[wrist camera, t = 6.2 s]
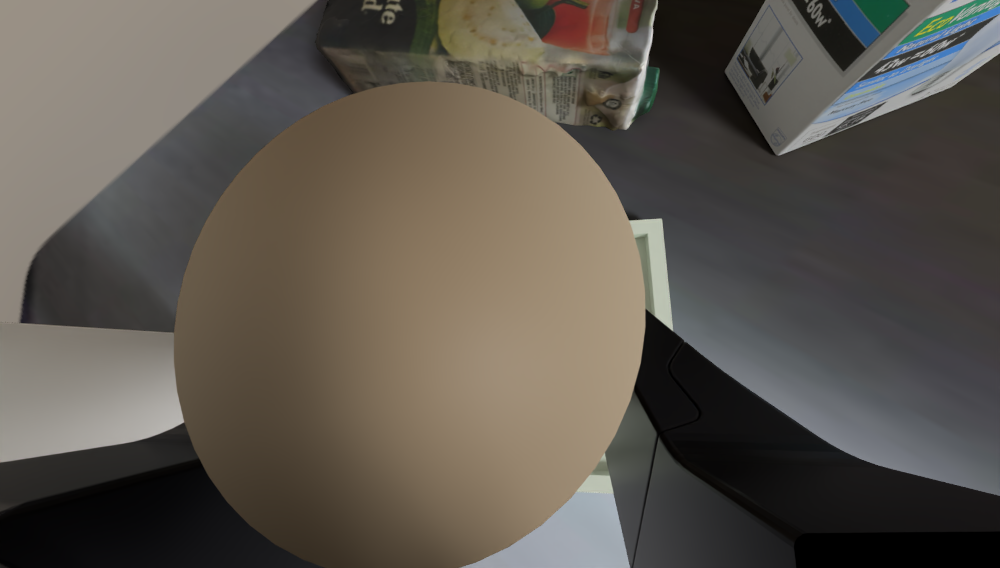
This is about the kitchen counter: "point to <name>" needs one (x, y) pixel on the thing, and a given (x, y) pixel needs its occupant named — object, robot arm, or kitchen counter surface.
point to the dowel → (409, 328)
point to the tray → (655, 302)
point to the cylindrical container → (83, 388)
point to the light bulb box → (854, 60)
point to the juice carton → (504, 51)
